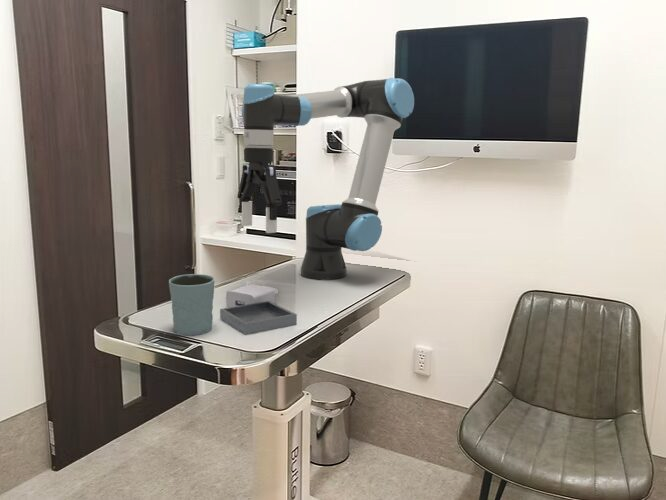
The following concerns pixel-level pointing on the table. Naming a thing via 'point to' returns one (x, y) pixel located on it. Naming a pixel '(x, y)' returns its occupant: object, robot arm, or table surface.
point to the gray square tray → (258, 317)
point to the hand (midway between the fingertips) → (258, 229)
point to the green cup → (192, 303)
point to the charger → (250, 295)
